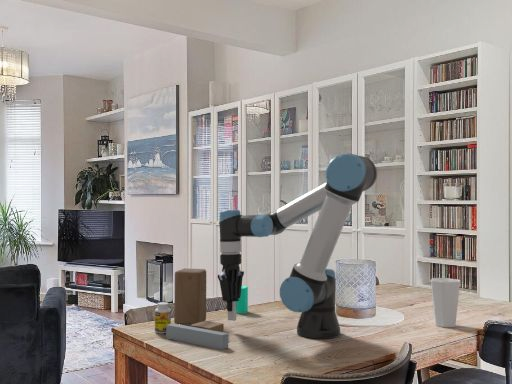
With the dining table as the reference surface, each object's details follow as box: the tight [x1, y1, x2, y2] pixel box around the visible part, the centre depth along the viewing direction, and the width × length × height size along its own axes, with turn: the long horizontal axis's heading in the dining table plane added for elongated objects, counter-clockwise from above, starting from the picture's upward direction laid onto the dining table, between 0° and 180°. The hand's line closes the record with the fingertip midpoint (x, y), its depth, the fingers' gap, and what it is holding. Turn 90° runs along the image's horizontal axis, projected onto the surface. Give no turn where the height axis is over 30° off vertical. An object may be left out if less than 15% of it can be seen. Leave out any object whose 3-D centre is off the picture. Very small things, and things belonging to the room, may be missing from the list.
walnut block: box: [189, 320, 224, 332], centre depth 184 cm, size 8×8×5 cm
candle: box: [236, 285, 249, 314], centre depth 228 cm, size 6×6×12 cm
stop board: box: [165, 322, 229, 350], centre depth 178 cm, size 24×3×4 cm, turn 56°
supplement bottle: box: [154, 301, 172, 335], centre depth 192 cm, size 6×6×10 cm
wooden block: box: [173, 268, 207, 326], centre depth 208 cm, size 10×10×20 cm
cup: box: [429, 277, 461, 328], centre depth 205 cm, size 11×10×17 cm
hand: (232, 319), depth 193 cm, fingers closed
